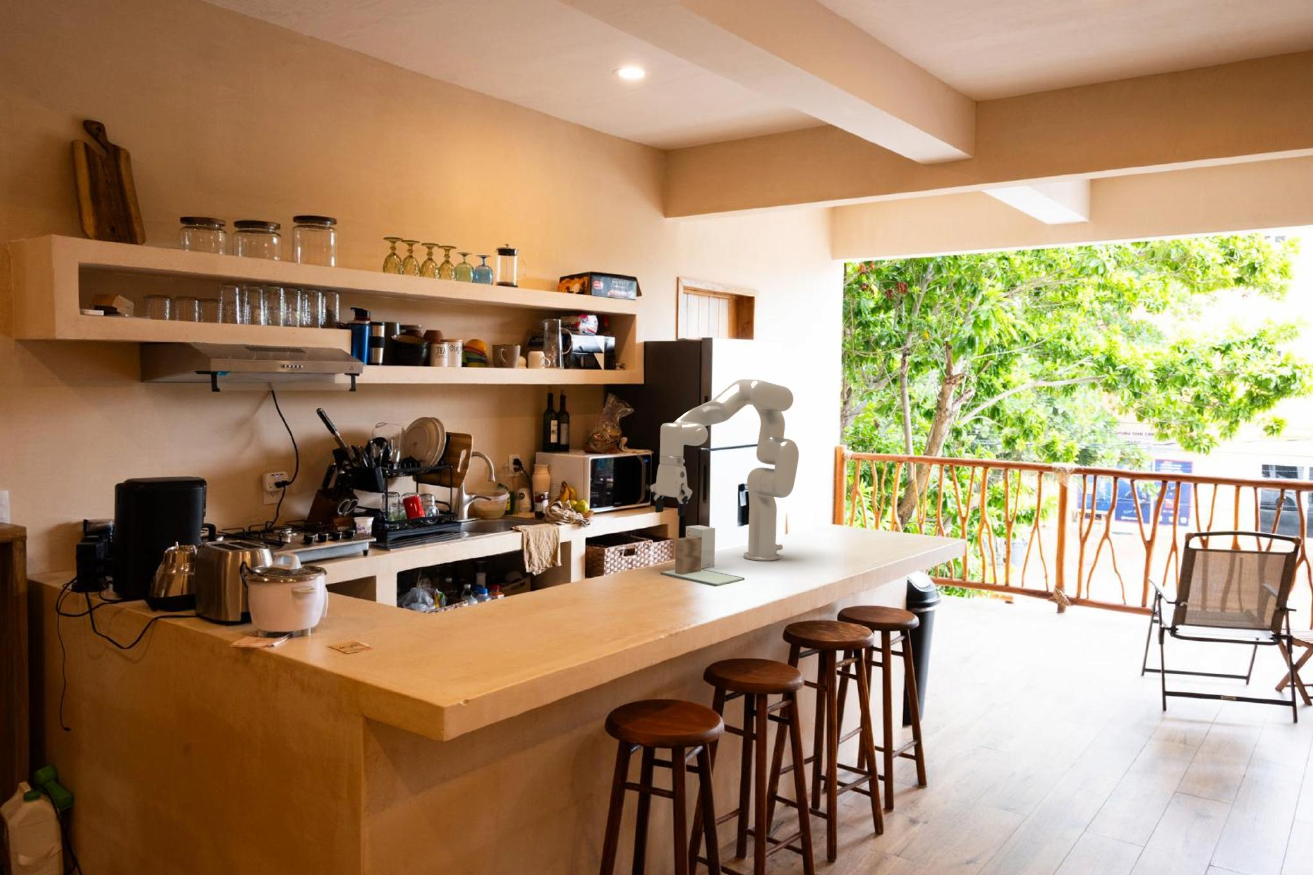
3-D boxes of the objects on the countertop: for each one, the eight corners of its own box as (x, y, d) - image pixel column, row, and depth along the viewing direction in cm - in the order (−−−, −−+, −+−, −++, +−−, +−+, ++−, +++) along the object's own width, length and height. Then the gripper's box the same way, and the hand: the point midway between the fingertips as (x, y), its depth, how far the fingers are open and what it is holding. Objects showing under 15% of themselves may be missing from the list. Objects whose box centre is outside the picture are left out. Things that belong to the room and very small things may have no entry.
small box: (714, 566, 321) (715, 527, 320) (700, 568, 317) (701, 529, 316) (698, 562, 327) (699, 524, 326) (684, 564, 323) (685, 526, 322)
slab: (693, 569, 312) (694, 535, 312) (700, 570, 310) (701, 537, 310) (675, 573, 306) (675, 538, 305) (681, 574, 304) (682, 540, 303)
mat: (689, 568, 317) (689, 566, 317) (744, 579, 301) (744, 577, 301) (660, 574, 307) (660, 572, 307) (715, 586, 291) (715, 584, 291)
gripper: (699, 462, 308) (698, 516, 309) (659, 458, 320) (658, 510, 321) (684, 464, 303) (682, 518, 304) (644, 460, 314) (643, 512, 315)
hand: (670, 513), depth 312 cm, fingers open, 9 cm apart
